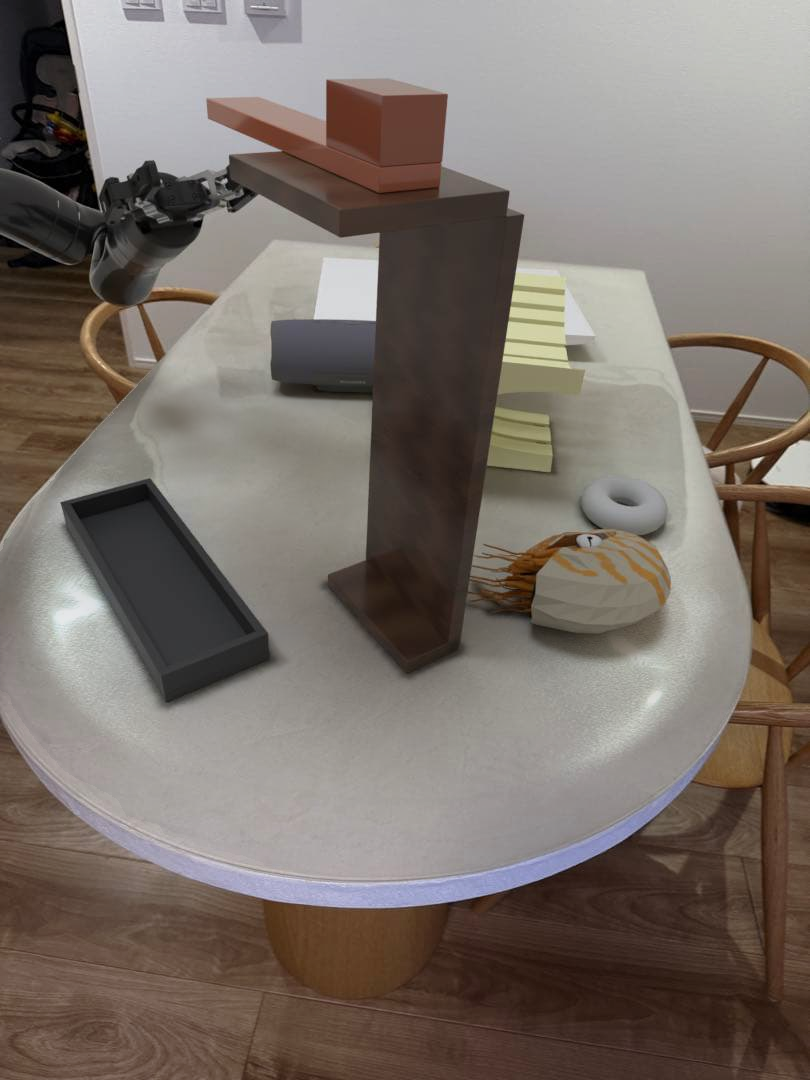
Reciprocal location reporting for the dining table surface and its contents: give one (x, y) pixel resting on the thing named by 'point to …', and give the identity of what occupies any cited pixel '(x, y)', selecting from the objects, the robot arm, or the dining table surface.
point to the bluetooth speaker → (324, 353)
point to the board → (355, 296)
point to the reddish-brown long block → (353, 131)
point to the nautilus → (584, 580)
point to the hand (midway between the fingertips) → (201, 168)
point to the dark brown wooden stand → (418, 384)
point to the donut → (637, 517)
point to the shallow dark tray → (164, 588)
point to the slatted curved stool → (532, 372)
